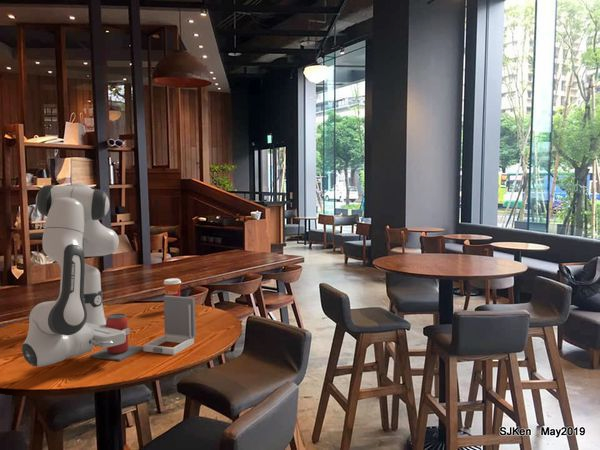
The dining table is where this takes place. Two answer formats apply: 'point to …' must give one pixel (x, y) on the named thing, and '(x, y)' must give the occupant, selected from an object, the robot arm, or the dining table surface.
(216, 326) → the dining table surface
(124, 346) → the beer can
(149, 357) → the dining table surface
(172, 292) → the paper cup
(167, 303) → the case
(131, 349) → the rubber mat
